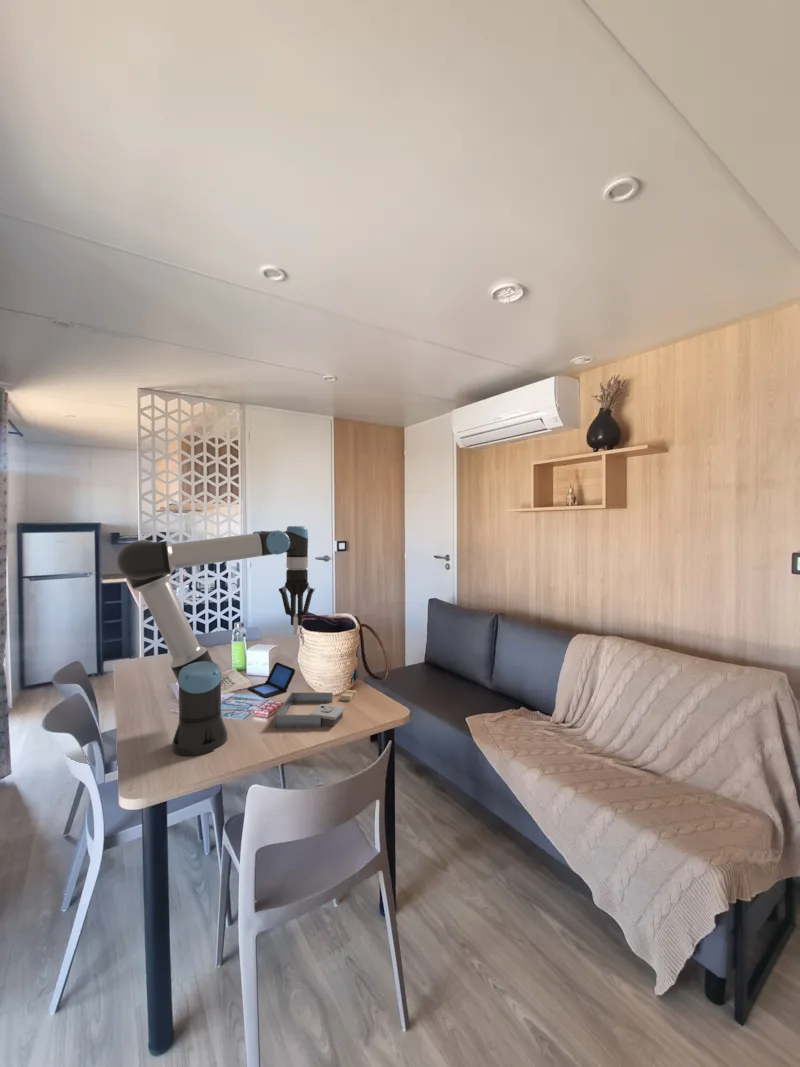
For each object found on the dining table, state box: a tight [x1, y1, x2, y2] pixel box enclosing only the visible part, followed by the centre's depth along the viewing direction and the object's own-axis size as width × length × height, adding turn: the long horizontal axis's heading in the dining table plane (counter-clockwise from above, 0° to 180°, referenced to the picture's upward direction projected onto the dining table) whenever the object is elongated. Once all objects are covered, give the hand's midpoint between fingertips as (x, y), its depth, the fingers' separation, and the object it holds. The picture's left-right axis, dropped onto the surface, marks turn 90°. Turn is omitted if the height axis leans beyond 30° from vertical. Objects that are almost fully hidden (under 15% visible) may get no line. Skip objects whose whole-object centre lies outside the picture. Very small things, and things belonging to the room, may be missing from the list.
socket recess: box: [273, 692, 334, 729], centre depth 157 cm, size 22×15×4 cm
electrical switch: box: [309, 703, 346, 728], centre depth 151 cm, size 9×5×9 cm
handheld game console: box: [247, 661, 296, 699], centre depth 181 cm, size 16×13×9 cm
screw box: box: [340, 689, 358, 702], centre depth 170 cm, size 6×4×3 cm, turn 164°
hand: (296, 634), depth 163 cm, fingers closed
